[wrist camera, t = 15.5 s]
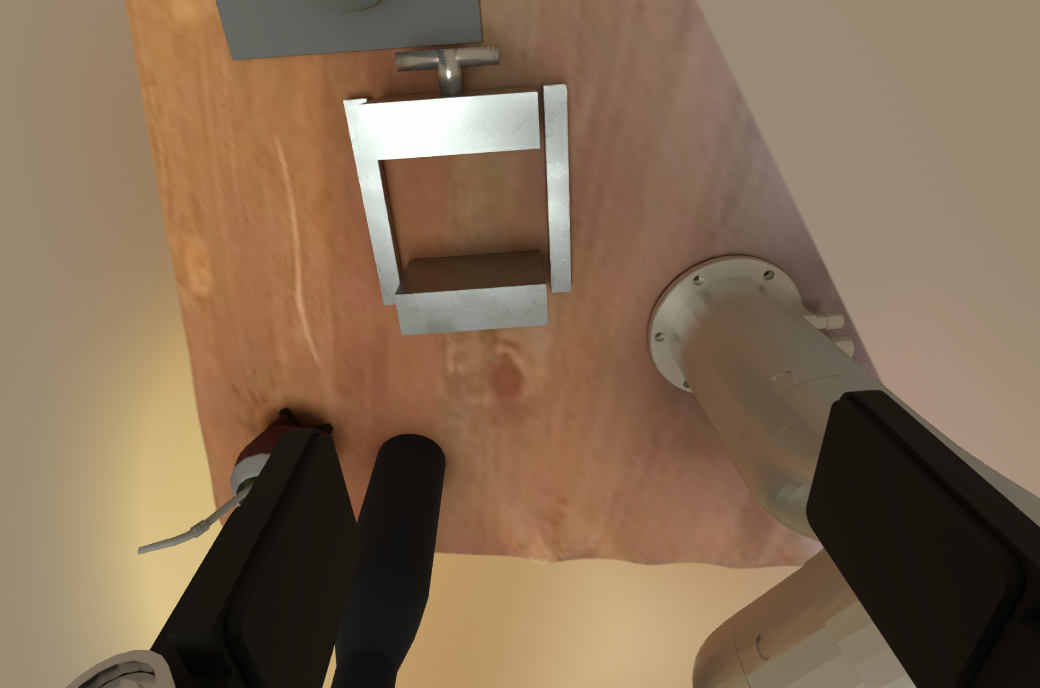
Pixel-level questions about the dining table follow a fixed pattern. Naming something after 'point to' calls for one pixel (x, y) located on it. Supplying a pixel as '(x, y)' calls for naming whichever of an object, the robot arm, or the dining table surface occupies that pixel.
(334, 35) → the mat
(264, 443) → the mate gourd
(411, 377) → the dining table surface
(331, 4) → the bottle
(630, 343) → the dining table surface
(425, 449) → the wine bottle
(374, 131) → the vise
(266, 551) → the robot arm
